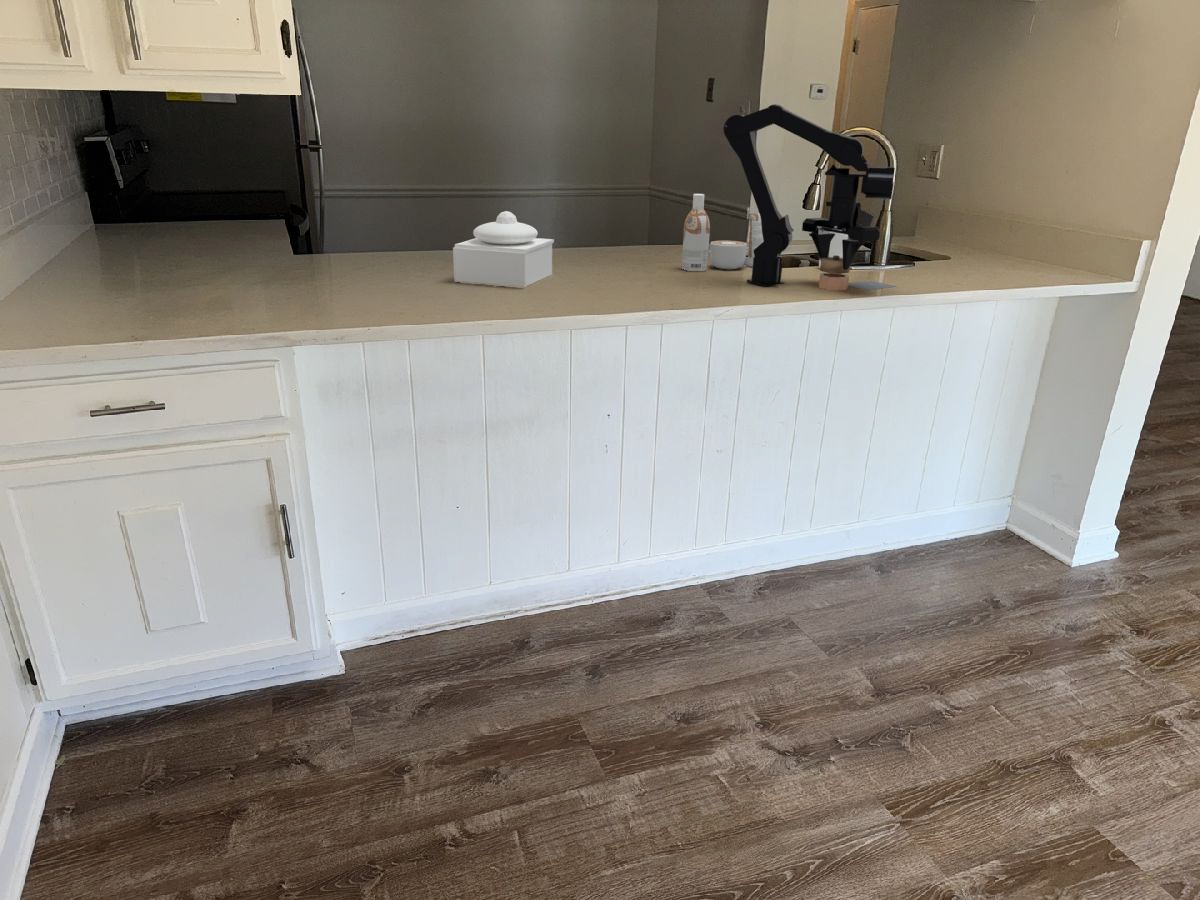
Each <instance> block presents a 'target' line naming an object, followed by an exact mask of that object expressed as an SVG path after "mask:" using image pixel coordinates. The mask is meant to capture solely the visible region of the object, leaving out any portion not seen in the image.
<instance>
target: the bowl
mask: <svg viewBox="0 0 1200 900" xmlns="http://www.w3.org/2000/svg"><path fill="white" fill-rule="evenodd" d="M818 278H819V280H818V289H821V290H827V291H836V292H837V291H847V290H848V287H849V286H848V283H849V279H850V277H849V274H846V273H841V274H839V273H827V272H823V273H822V272H821V273H819V277H818Z"/></svg>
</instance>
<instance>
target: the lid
mask: <svg viewBox="0 0 1200 900" xmlns="http://www.w3.org/2000/svg"><path fill="white" fill-rule="evenodd" d="M839 257H840V256H833V257H825V258H821V266H820V268H819V271H820V272H823V273H839V274H848V273H850V269H851V266H850V267H849V269H848V270H844V267H843V258H839Z"/></svg>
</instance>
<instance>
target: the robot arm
mask: <svg viewBox="0 0 1200 900" xmlns="http://www.w3.org/2000/svg"><path fill="white" fill-rule="evenodd" d="M772 125H776V126H777V127H779V128H781V129H783V130H785V131H787V132H789V133H791V134H793V135H795V136H797V137H798V138H799V137H800V138H801V139H803V140H805V141H807V142H809V143H811V144H813V145H815V146H817V147H819V148H820V149H821V150H822V151H824V152H825V153H826V154H828V156H830V157H831V158H832V159H834V160H835V161H836V162H837V163H839V164H840V165H842V166H845V167H837V166H836V164H835V163H833V164H831V166H830V168H829V169H827V170H826V171H825V172H824V175H825V176H833V177H832V183H831V192H830V193H831V194H830V198H829V199H830V200H828V201H827V200H826V201H825V207H828V208H829V210H828V218H825V217H824V218H823V217H811V218H809V217H807V218H805V219H804V220H803V222H802V227H801V232H802V231H803V232H808V236H810V237H811V239H812V241H813V244H814V246H815V248H816V252H817V254H818V256H819V259H820V260H821V258H825V257H828V256H829V249H830V243H831V240H832V239H833V237H834V236H835V234H834V233H830V232H835V233H841V234H847V235H848V239H845V240H842V248H843V267H844V270H848V269H849V267H850V268H851V265H852V263H853V261H854V258H855V257H856V255H857V252H859V250H860V248H861V247H862V246H863V245H864V244H867V243H869V242H870V241H879V240H880V234H881V232H880V231H881V230H880V229H879V227H878V226H875V225H874V226H873V225H872V223H873V221H874V218H875V216H874V215H872V214H871V213H868V212H866V211H864V210H861V209H862V208H861V207H862V204H861V202H860V201H859V202H858V201H857V200H858V193H859V186H860V185H859V184H860V178H862V180H861V186H860V187H861V189H860V194H863V195H865V199H875V200H876V199H877V200H890V201H891V200H892V197H893V190H894V177H895V169H896V167H895V166H894V167H893V166H886V167H877V166H873V167H872V166H870V165H869V163H870V162H868V161H867V160H866V157H865V156H864V151H865V150H864V145H863V144H864V143H862V142H861V140H860V139H858V138H856V137H853V136H850V135H846V134H843V133H838V132H835V131H831V130H828V129H826V128H824V127H822V126H820V125H818V124H816V123H814V122H812V121H809V120H807V119H805V118H804V117H801V116H799V115H798V114H796V113H794V112H792V111H790V110H788V109H786V108H784V107H783V106H782V105H780V104H770V105H769V106H768V107H765V108H763V109H759V110H758V111H755V112H752V113H749V114H747V115H746V114H734V115H731V116H729V117H728V118H727V119H726V121H725V123H724V124H723V128H722V129H723V134H724V137H725V138H726V140H727V141H728V143H729V145H730V147H731V149H732V150H733V151H734V153H735V154H736V156H737V157H738V158H739V160H740V164H741V166H742V169H743V172H744V174H745V177H746V180H747V183H748V185H749V189H750V190H751V194H752V196H753V199H754V201H755V205H756V208H757V210H758V211H759V213H760V216H761V226H762V234H763V240H764V242H762V243H761V244H760V245H759V246H758V247H757V248H756V249H754V255H755V257H753V267H752V270H751V279H746V282H747V283H750V284H754V285H757V286H762V287H770V286H771V287H772V286H776V285H782V284H783V285H784V284H785V282H784V281H782V272H783V257H782V256H781V254H782V252H784V251H785V250H786V249H787V248H788V247H789V246H790V245H791V243H792V241H793V232H794V228H793V227H792V225H791V224H790V223H791V222H790V216H789V214H786V215H784V216H783V215H782V214H781V213H780V212H779V210H778V207H777V204H776V202H775V199H774V197H773V194H772V191H771V189H770V186H769V182H768V180H767V177H766V174H765V171H764V167H763V166H762V162H761V159H760V158H759V154H758V150H757V140H756V133H755V132H757V131H760V130H763V129H764V128H765V129H766V128H767V127H769V126H772ZM847 167H849V168H847ZM850 167H852V168H853V169H855V170H856V171H857V172H859V173H856V172H855V173H854V172H851V168H850ZM860 172H865V173H860ZM835 226H836V227H835Z"/></svg>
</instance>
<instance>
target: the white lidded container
mask: <svg viewBox="0 0 1200 900" xmlns="http://www.w3.org/2000/svg"><path fill="white" fill-rule="evenodd" d="M472 234H473V236H474V237H475V238H472V239H468V240H465V241H463V242H458V243H454V247H452V256H453V278H454V280H453V281H454V282H455V281H465V282H474V283H484V284H494V285H495V284H496V285H509V286H522V287H526V286H527V285H529V284H532V283H534V282H536V281H538V280H541V279H543V278H545V277H547V276H550V275H552V276H553V243H554V242H555V239H554V238H553V239H552V238H541V237H540V238H539V237H538V234H539V233H538V230H537V229H536V228H535V227H534V226H532V225H529V224H527V223H523V222H519V221H518V220H517V215H515V214H513V212H511V211H508V210H505V211H502V212H500V213H499V214H498V215H497V217H496V220H495V221H492V222H491V221H490V222H486V223H483V224H480V225H478V226H477V227H475V228H474V229H473V231H472ZM537 237H538V238H537Z"/></svg>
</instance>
